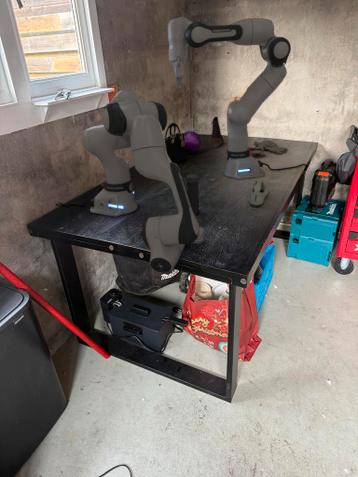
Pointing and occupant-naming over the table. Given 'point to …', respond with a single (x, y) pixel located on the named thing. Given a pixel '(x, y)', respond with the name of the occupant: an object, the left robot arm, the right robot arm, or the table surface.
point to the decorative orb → (192, 141)
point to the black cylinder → (193, 196)
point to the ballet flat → (258, 193)
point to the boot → (216, 133)
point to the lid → (192, 178)
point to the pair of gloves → (268, 146)
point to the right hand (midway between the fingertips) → (179, 87)
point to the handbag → (175, 145)
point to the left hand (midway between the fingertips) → (182, 223)
